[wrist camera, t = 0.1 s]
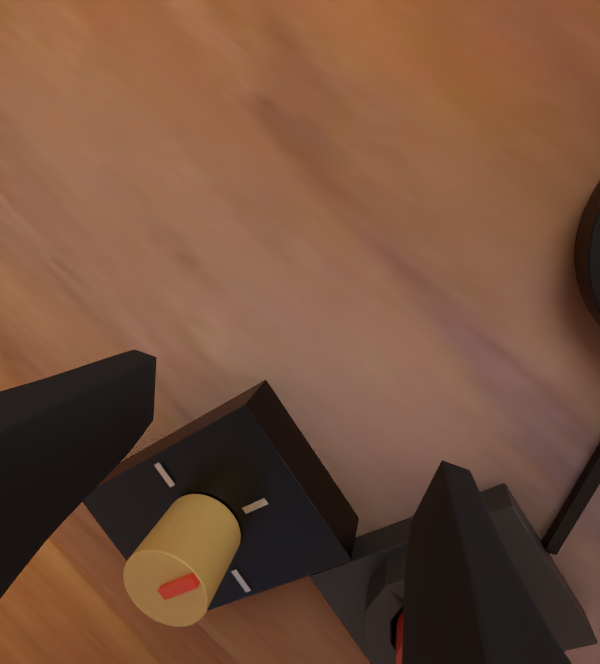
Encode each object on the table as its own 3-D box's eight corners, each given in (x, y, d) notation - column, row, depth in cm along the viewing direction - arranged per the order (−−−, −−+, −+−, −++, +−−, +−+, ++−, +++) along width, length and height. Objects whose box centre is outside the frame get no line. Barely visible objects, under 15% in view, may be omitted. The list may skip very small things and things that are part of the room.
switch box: (389, 658, 25) (386, 726, 22) (315, 551, 24) (300, 605, 21) (584, 611, 21) (616, 684, 18) (504, 482, 20) (522, 535, 17)
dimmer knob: (198, 569, 23) (155, 643, 19) (154, 509, 22) (100, 572, 18) (256, 546, 21) (222, 620, 17) (210, 481, 21) (165, 543, 17)
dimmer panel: (197, 580, 27) (171, 625, 24) (113, 466, 26) (76, 499, 23) (359, 517, 23) (351, 563, 20) (266, 379, 22) (243, 406, 19)
